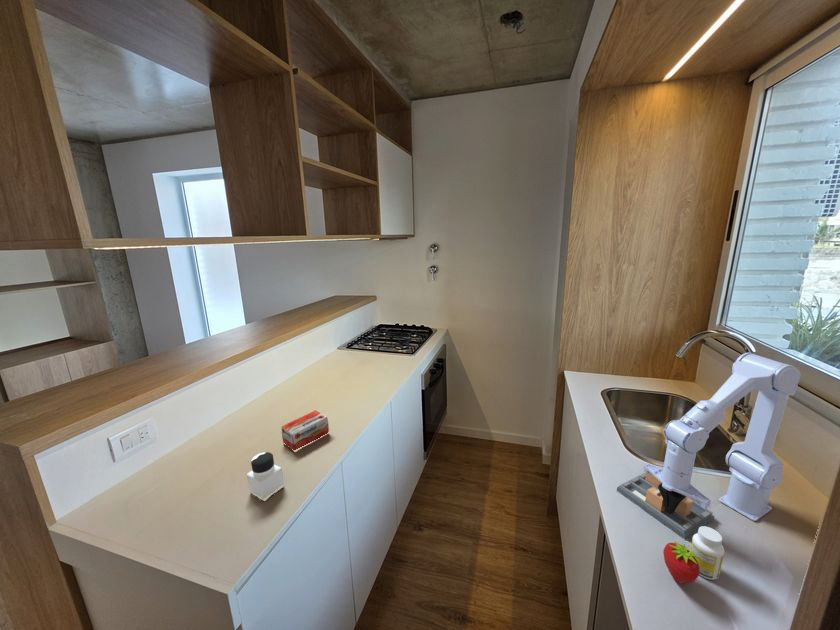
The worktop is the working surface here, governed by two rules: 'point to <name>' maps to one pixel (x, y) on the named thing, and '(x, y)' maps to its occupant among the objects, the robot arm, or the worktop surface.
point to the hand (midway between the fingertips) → (669, 511)
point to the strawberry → (681, 563)
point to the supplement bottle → (708, 552)
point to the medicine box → (305, 430)
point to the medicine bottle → (264, 475)
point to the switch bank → (674, 521)
